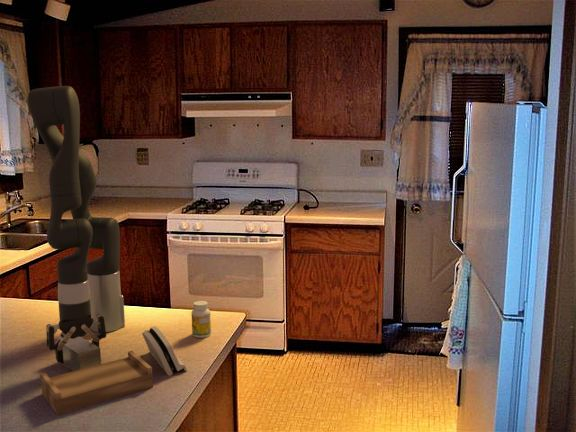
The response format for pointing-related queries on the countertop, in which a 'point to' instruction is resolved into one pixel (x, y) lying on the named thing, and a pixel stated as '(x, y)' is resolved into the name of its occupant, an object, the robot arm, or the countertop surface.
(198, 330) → the supplement bottle
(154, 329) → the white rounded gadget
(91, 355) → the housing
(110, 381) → the stand
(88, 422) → the countertop surface
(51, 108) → the robot arm
